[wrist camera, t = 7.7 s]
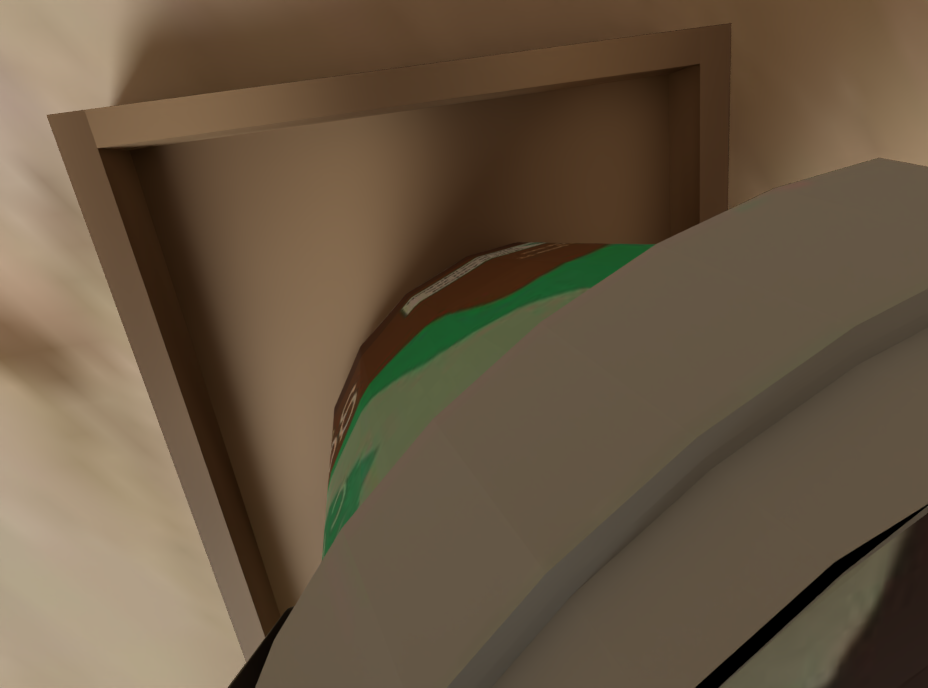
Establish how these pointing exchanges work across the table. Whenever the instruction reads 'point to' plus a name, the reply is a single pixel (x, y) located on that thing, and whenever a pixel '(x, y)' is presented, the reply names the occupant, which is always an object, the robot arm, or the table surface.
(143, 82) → the table surface
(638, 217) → the tray
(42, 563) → the table surface
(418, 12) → the table surface
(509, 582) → the food container
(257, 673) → the robot arm
